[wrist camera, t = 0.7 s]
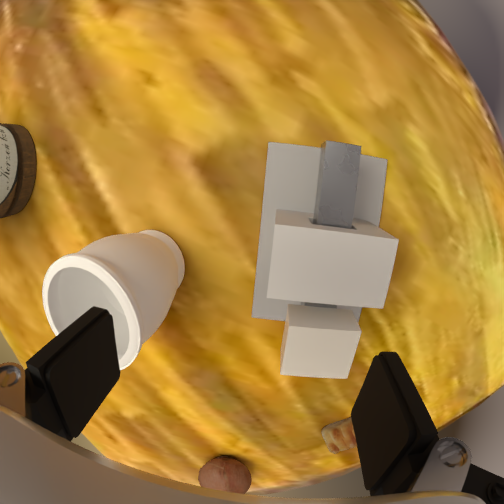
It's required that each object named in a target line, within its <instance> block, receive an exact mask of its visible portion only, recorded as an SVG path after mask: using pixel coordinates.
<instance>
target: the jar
mask: <svg viewBox="0 0 504 504" xmlns="http://www.w3.org/2000/svg"><path fill="white" fill-rule="evenodd" d="M184 272H185V264H184V258H183V255H182V252H181V250H180V249H179V247H178V245H177V244H176V243H175V242H174V240H173V239H171V238H170V237H169V236H168V235H166V234H164V233H162V232H160V231H156V230H144V231H141V232H138V233H128V234H119V235H112V236H108V237H105V238H102V239H99V240H97V241H95V242H93V243H91V244H89V245H87V246H86V247H84V248H83V249H82V250H80V251H79V252H78V253H72V254H68V255H65V256H63V257H61V258H59V259H58V260H57V261H55V262H54V263H53V264H52V265H51V266H50V268H49V269H48V271H47V273H46V275H45V278H44V282H43V290H42V296H43V305H44V309H45V313H46V316H47V319H48V321H49V324H50V326H51V328H52V330H53V332H54V333H55V335H56V336H57V335H58V334H59V333H61V332H62V331H63V330H64V329H65V328H67V327H68V326H69V325H70V324H72V323H73V322H74V321H75V320H76V319H78V318H79V317H80V316H81V315H83V314H84V313H85V312H86V311H88V310H89V309H90V308H91V307H93V306H96V307H99V308H103V309H107V310H108V311H109V313H110V314H111V315H112V317H113V323H114V332H115V340H116V347H117V354H118V361H119V367H120V370H122V369H124V368H126V367H128V366H129V365H130V364H131V363H132V362H133V361H134V359H135V358H136V357H137V355H138V353H139V352H140V349H141V347H142V344H143V343H144V342H145V341H147V340H148V339H149V338H150V337H151V336H152V335H153V334H154V333H155V331H156V330H157V329H158V328H159V326H160V325H161V324H162V322H163V320H164V319H165V317H166V315H167V313H168V311H169V309H170V306H171V303H172V301H173V299H174V296H175V294H176V290H177V288H178V287H179V286H180V284H181V282H182V280H183V277H184Z"/></svg>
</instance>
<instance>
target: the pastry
mask: <svg viewBox="0 0 504 504" xmlns="http://www.w3.org/2000/svg"><path fill="white" fill-rule="evenodd" d="M321 432H322V436H323V438H324V440H325V442H326V445H327V447H328V449H329V451H330V452H332V453H334V454H336V453H338V452H339V451H343V450H348V449H350V448H354V447H357V443H356V438H355V433H354V429H353V424H352V420H351V417H349V418H347V419H344V420H341V421H338V422H335V423H332V424H329V425H327V426H325V427H324V428H323V429H322V431H321Z"/></svg>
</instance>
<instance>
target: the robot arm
mask: <svg viewBox="0 0 504 504" xmlns="http://www.w3.org/2000/svg"><path fill="white" fill-rule="evenodd" d="M26 364H27V367H28V368H27V369H26V370H24V369H23V367H22V366H20V365H19V364H16V363H9V362H7V363H3V364H0V504H504V478H502V477H500V476H497V475H495V474H493V473H491V472H488V471H486V470H484V469H482V468H479V467H477V466H475V465H473V464H471V457H472V455H471V451H470V449H469V448H468V446H467V445H466V444H465V443H464V442H463V441H461V440H459V439H457V438H453V437H446V438H442V439H440V440H439V438H438V435H437V434H438V432H437V429H436V427H435V425H434V423H433V421H432V419H431V417H430V415H429V413H428V411H427V409H426V407H425V405H424V403H423V401H422V399H421V397H420V395H419V393H418V391H417V389H416V387H415V385H414V383H413V381H412V379H411V377H410V376H409V374H408V372H407V370H406V368H405V366H404V364H403V363H402V361H401V359H400V357H399V355H398V354H397V353H396V352H380V353H379V355H376V356H375V357H374V358H373V361H372V363H371V366H370V369H369V371H368V374H367V376H366V378H365V381H364V383H363V386H362V388H361V390H360V393H359V395H358V397H357V400H356V402H355V404H354V406H353V408H352V412H351V420H352V424H353V429H354V433H355V438H356V443H357V448H358V453H359V458H360V463H361V468H362V474H363V479H364V485H365V488H366V490H370V495H371V496H369V497H356V498H335V499H298V498H278V497H265V496H256V495H248V494H240V493H233V492H227V491H221V490H215V489H210V488H205V487H200V486H195V485H191V484H187V483H183V482H179V481H175V480H171V479H167V478H164V477H160V476H157V475H154V474H150V473H147V472H144V471H141V470H138V469H135V468H132V467H129V466H127V465H124V464H121V463H118V462H116V461H113V460H111V459H108V458H105V457H103V456H101V455H98V454H96V453H94V452H91V451H89V450H87V449H84V448H83V447H80V446H78V445H76V444H74V443H72V442H71V440H72V439H73V437H75V438H76V437H78V436H79V434H80V433H81V432H82V430H83V429H84V427H85V426H86V424H87V423H88V422H89V420H90V419H91V417H92V416H93V415H94V413H95V412H96V410H97V409H98V407H99V406H100V405H101V403H102V402H103V400H104V399H105V398H106V396H107V395H108V394H109V392H110V391H111V389H112V388H113V387H114V385H115V384H116V382H117V381H118V379H119V377H120V367H119V361H118V354H117V347H116V340H115V332H114V323H113V317H112V315H111V314H110V313H109V311H108V310H107V309H103V308H99V307H96V306H93V307H91V308H90V309H89V310H88V311H86V312H85V313H84V314H83V315H81V316H80V317H79V318H78V319H76V320H75V321H74V322H73V323H72V324H70V325H69V326H68V327H67V328H65V329H64V330H63V331H62V332H61V333H59V334H58V335H57V336H56V337H55V338H53V339H52V340H51V341H50V342H49V343H48V344H46V345H45V346H44V347H43V348H42V349H41V350H39V351H38V352H37V353H36V354H35V355H34V356H32V357H31V358H30V359H29V360H28V361H27V362H26Z"/></svg>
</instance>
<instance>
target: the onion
mask: <svg viewBox="0 0 504 504" xmlns="http://www.w3.org/2000/svg"><path fill="white" fill-rule="evenodd" d="M198 480H199V483H200V485H201V487H205V488H210V489H215V490H221V491H227V492H233V493H240V494H245V493H246V492H247V491H248V489H249V487H250V485H251V474H250V472H249V470H248V469H247V467H246V466H245V465H244V464H242V463H241V462H239V461H237V460H236V459H234V458H232V457H228V456H220V457H216V459H212V460H211V461H209V462H207V463H206V464H205V465H203V467H202V468H200V471H199V478H198Z"/></svg>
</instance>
